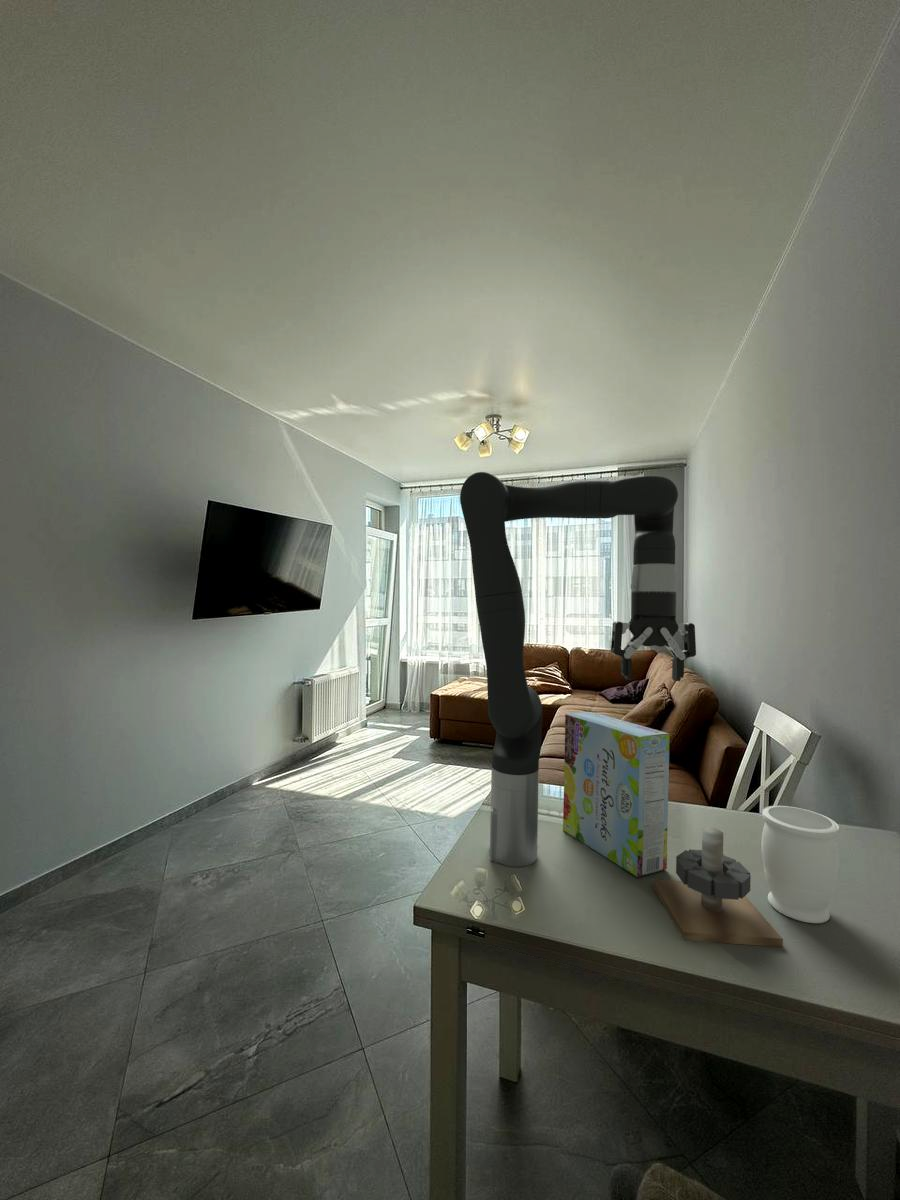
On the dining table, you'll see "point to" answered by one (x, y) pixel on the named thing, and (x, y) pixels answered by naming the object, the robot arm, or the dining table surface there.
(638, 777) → the snack box
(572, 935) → the dining table surface
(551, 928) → the dining table surface
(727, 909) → the post base
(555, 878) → the dining table surface
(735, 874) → the ring
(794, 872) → the jar
